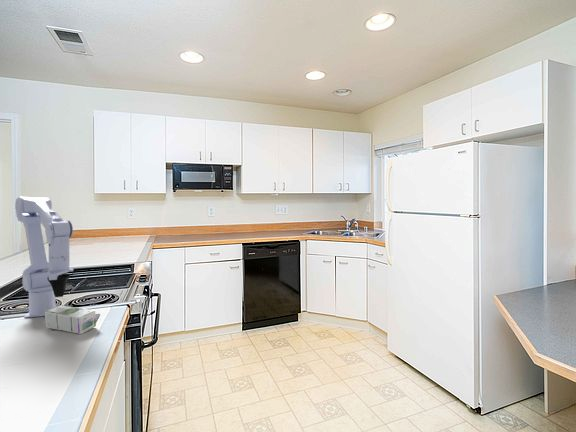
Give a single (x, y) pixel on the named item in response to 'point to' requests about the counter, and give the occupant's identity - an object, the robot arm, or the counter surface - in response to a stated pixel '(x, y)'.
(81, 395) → the counter surface
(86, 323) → the syrup box
